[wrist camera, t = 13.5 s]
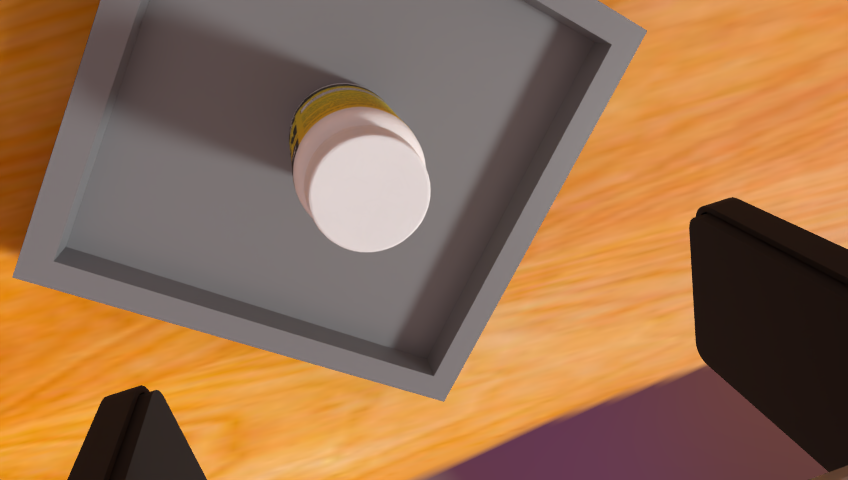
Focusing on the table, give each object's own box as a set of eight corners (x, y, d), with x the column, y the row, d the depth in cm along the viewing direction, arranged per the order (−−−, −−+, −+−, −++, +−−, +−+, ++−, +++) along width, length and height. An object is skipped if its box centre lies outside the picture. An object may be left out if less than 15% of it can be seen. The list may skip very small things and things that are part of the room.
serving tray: (190, -230, 22) (181, -255, 20) (619, 28, 29) (647, 30, 27) (33, 254, 27) (12, 277, 25) (433, 375, 34) (444, 401, 32)
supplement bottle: (269, 106, 26) (268, 154, 18) (373, 64, 26) (414, 95, 19) (315, 205, 28) (331, 285, 20) (411, 165, 28) (461, 230, 21)
